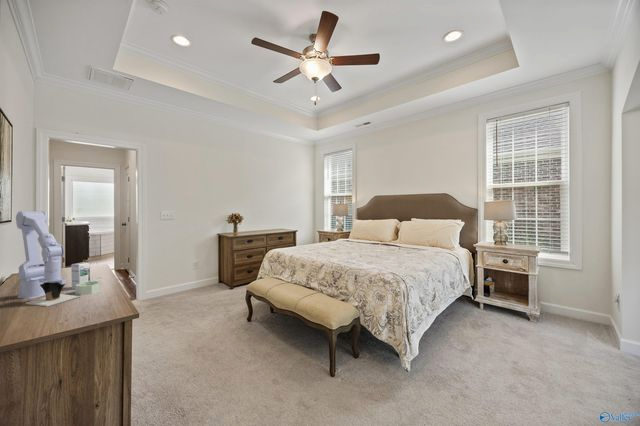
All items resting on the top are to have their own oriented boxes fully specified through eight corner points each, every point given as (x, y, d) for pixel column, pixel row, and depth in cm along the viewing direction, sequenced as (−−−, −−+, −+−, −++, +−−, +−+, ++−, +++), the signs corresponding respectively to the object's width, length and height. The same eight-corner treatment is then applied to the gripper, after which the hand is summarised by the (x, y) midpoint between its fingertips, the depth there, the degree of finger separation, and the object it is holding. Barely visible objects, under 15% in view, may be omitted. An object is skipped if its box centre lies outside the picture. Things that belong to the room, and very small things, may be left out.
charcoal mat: (21, 304, 123) (21, 304, 123) (57, 295, 137) (57, 294, 137) (48, 308, 120) (48, 307, 120) (81, 297, 133) (81, 297, 133)
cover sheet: (25, 303, 123) (25, 295, 123) (58, 295, 136) (58, 287, 136) (46, 306, 120) (46, 297, 120) (78, 297, 133) (78, 289, 133)
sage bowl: (70, 294, 137) (70, 285, 137) (90, 289, 147) (90, 280, 147) (85, 296, 135) (85, 286, 135) (104, 290, 145) (104, 281, 145)
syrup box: (79, 290, 145) (79, 264, 145) (71, 289, 146) (71, 263, 146) (90, 287, 151) (90, 262, 150) (82, 286, 152) (82, 261, 152)
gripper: (31, 271, 125) (31, 299, 126) (54, 273, 122) (54, 301, 123) (49, 267, 132) (49, 294, 132) (71, 269, 129) (71, 296, 130)
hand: (52, 297), depth 128 cm, fingers closed on cover sheet, 3 cm apart
